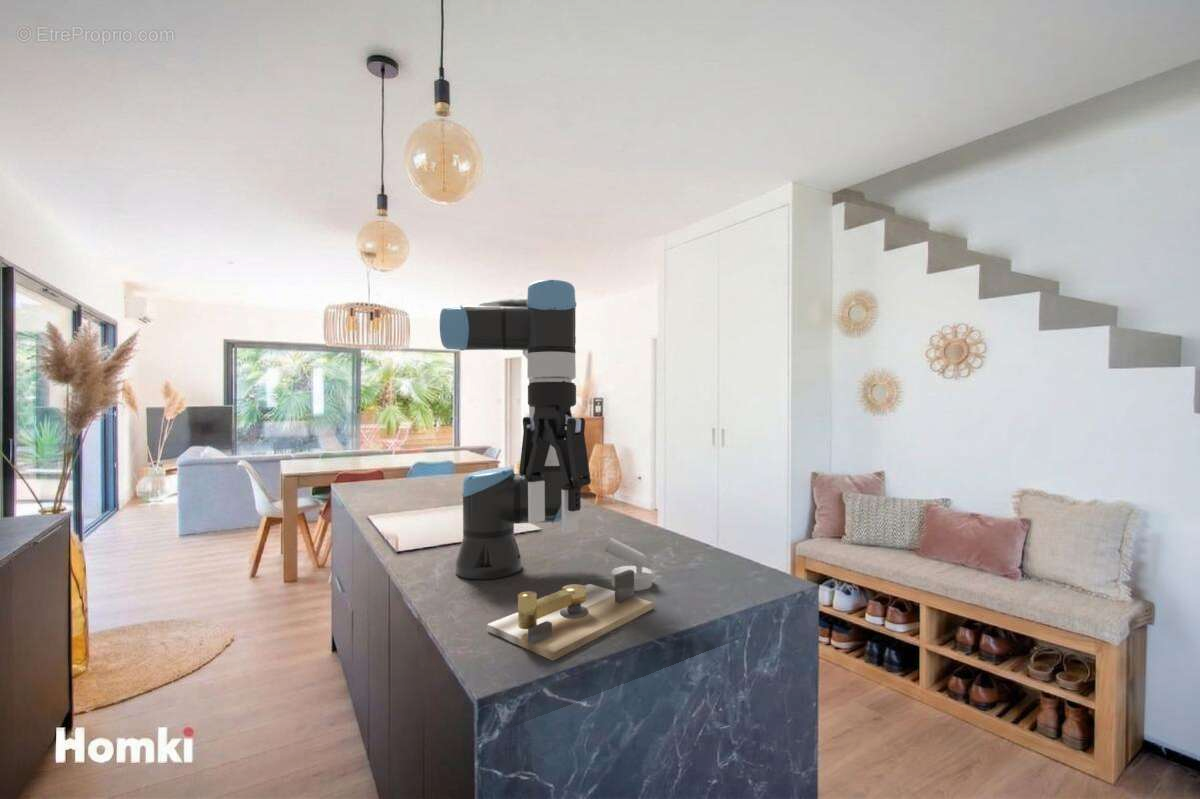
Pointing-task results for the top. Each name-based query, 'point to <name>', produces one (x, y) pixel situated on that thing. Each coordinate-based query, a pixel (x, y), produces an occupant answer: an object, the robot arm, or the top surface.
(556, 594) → the latch lever
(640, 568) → the wall hook
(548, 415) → the robot arm
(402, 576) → the top surface
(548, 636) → the door plate
